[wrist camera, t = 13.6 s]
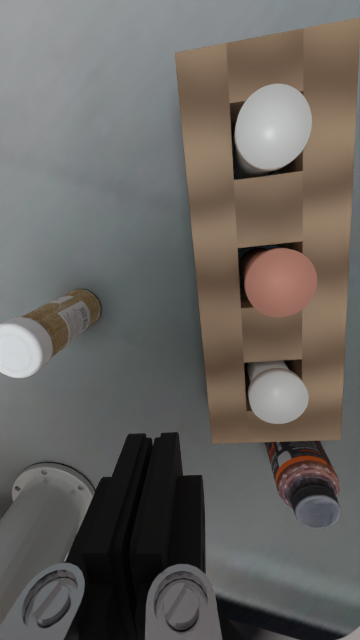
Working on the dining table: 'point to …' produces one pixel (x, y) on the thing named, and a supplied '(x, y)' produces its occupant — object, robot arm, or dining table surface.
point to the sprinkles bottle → (45, 332)
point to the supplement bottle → (306, 481)
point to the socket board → (272, 221)
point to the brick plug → (278, 280)
